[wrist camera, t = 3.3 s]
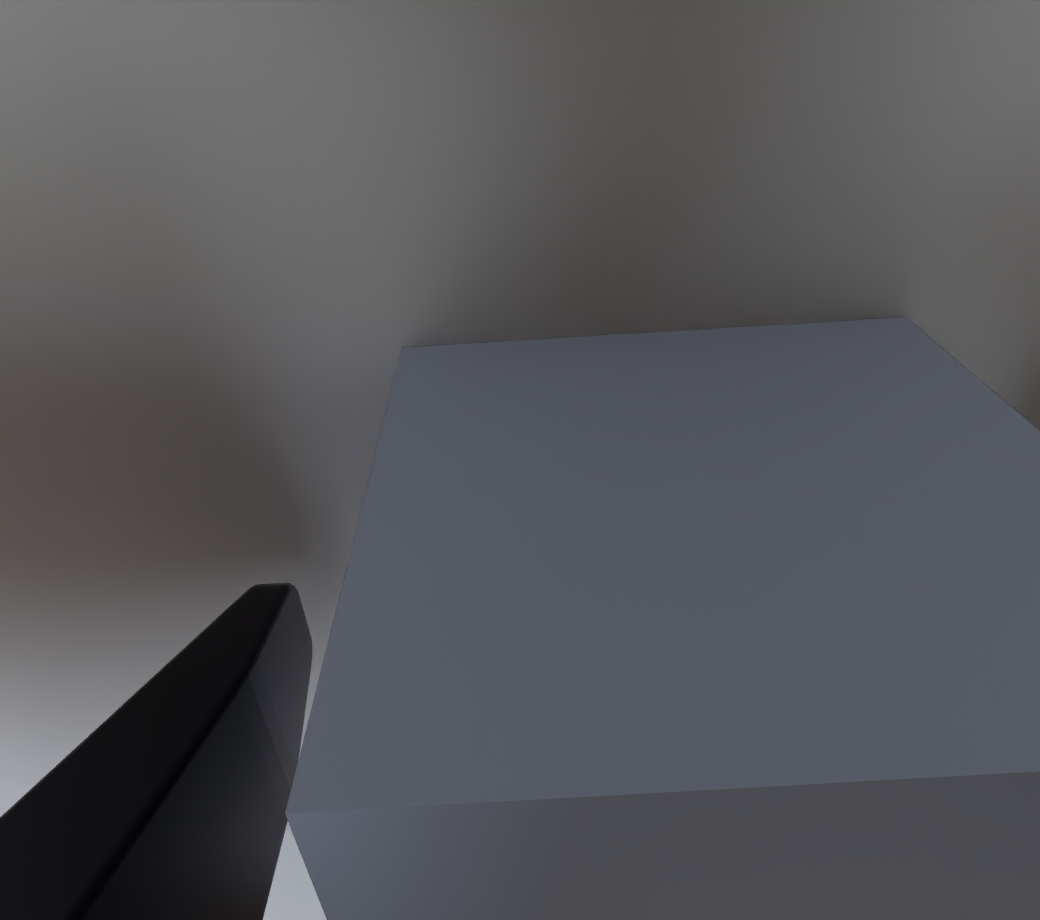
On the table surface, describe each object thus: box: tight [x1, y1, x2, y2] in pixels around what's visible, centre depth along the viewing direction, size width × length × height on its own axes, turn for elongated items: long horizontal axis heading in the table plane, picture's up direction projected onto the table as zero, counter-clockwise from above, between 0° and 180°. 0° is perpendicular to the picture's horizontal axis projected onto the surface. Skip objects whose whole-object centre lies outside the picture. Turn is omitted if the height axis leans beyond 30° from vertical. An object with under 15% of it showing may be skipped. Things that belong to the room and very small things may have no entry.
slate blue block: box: [285, 317, 1040, 920], centre depth 7 cm, size 5×5×5 cm
